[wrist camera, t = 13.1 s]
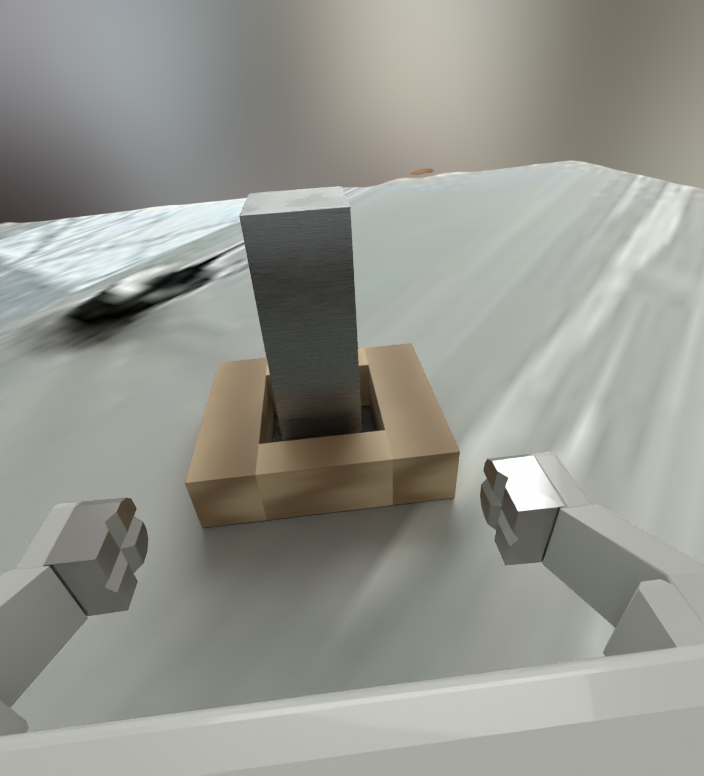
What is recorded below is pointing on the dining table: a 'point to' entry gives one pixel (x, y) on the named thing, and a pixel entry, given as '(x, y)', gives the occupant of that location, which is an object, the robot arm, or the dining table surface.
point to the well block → (320, 447)
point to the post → (306, 307)
